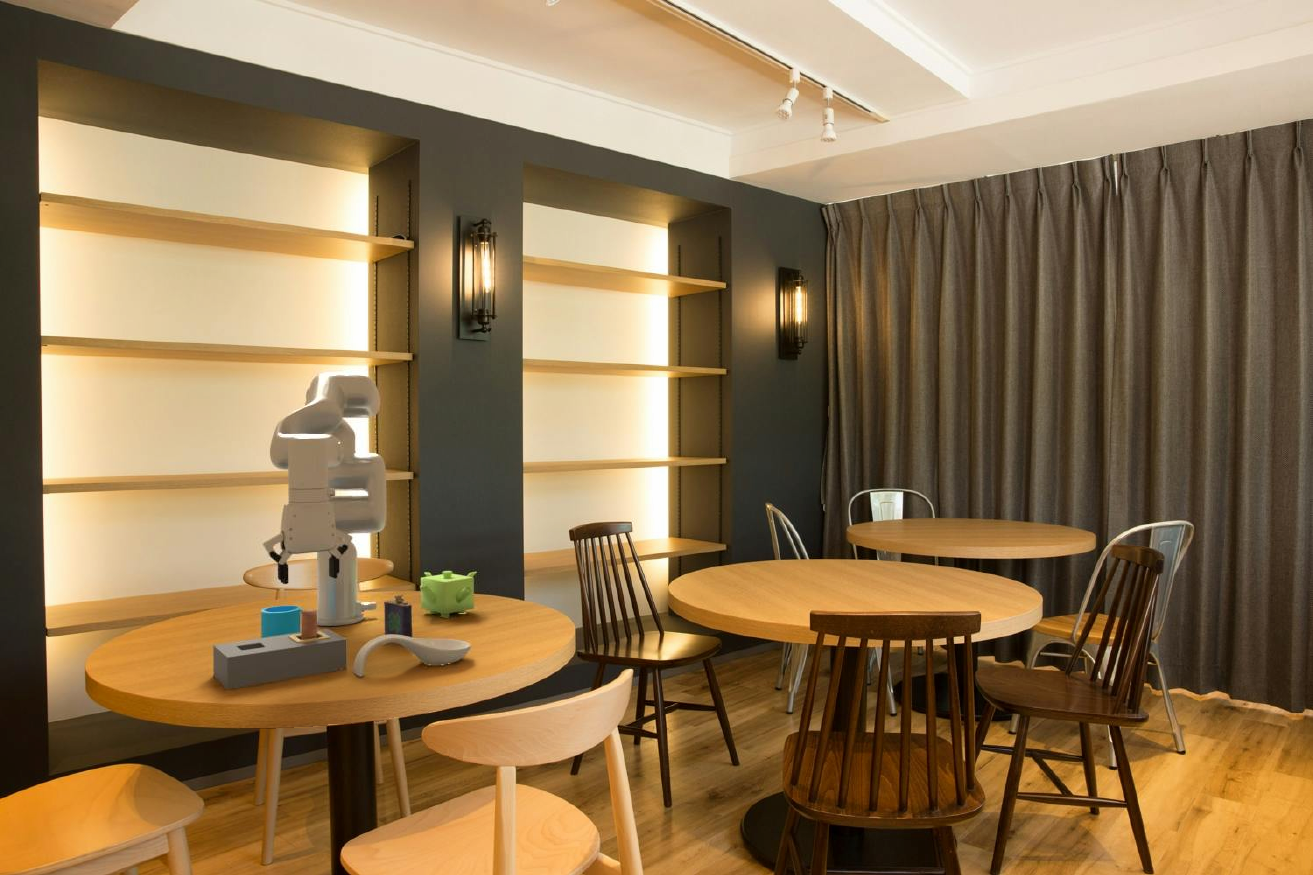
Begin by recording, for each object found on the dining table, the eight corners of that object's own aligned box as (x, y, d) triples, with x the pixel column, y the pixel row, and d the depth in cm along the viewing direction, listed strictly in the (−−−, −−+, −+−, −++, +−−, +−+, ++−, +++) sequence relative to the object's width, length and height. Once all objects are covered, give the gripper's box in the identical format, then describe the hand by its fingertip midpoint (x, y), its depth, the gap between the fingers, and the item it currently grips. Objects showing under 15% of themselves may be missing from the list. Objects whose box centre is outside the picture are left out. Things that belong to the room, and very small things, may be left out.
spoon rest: (457, 652, 186) (457, 619, 186) (480, 663, 177) (480, 629, 177) (347, 670, 172) (346, 635, 172) (365, 684, 163) (365, 646, 163)
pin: (314, 657, 176) (314, 608, 176) (319, 660, 173) (319, 611, 173) (299, 659, 174) (299, 610, 174) (304, 662, 172) (303, 613, 171)
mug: (270, 651, 186) (270, 614, 186) (255, 645, 192) (254, 609, 192) (323, 641, 195) (323, 606, 195) (307, 636, 200) (307, 601, 200)
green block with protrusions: (424, 608, 231) (424, 567, 231) (477, 607, 233) (477, 566, 233) (414, 620, 216) (414, 576, 216) (471, 619, 218) (471, 575, 218)
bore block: (327, 656, 182) (327, 627, 182) (346, 668, 172) (346, 637, 172) (213, 675, 168) (213, 643, 168) (227, 689, 159) (227, 655, 159)
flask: (382, 639, 197) (382, 593, 197) (393, 637, 199) (393, 591, 199) (405, 646, 191) (405, 598, 191) (416, 643, 193) (416, 596, 193)
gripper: (345, 492, 182) (345, 572, 182) (258, 497, 171) (259, 582, 171) (357, 495, 176) (358, 577, 176) (268, 500, 165) (269, 588, 166)
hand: (309, 580), depth 174 cm, fingers open, 9 cm apart
